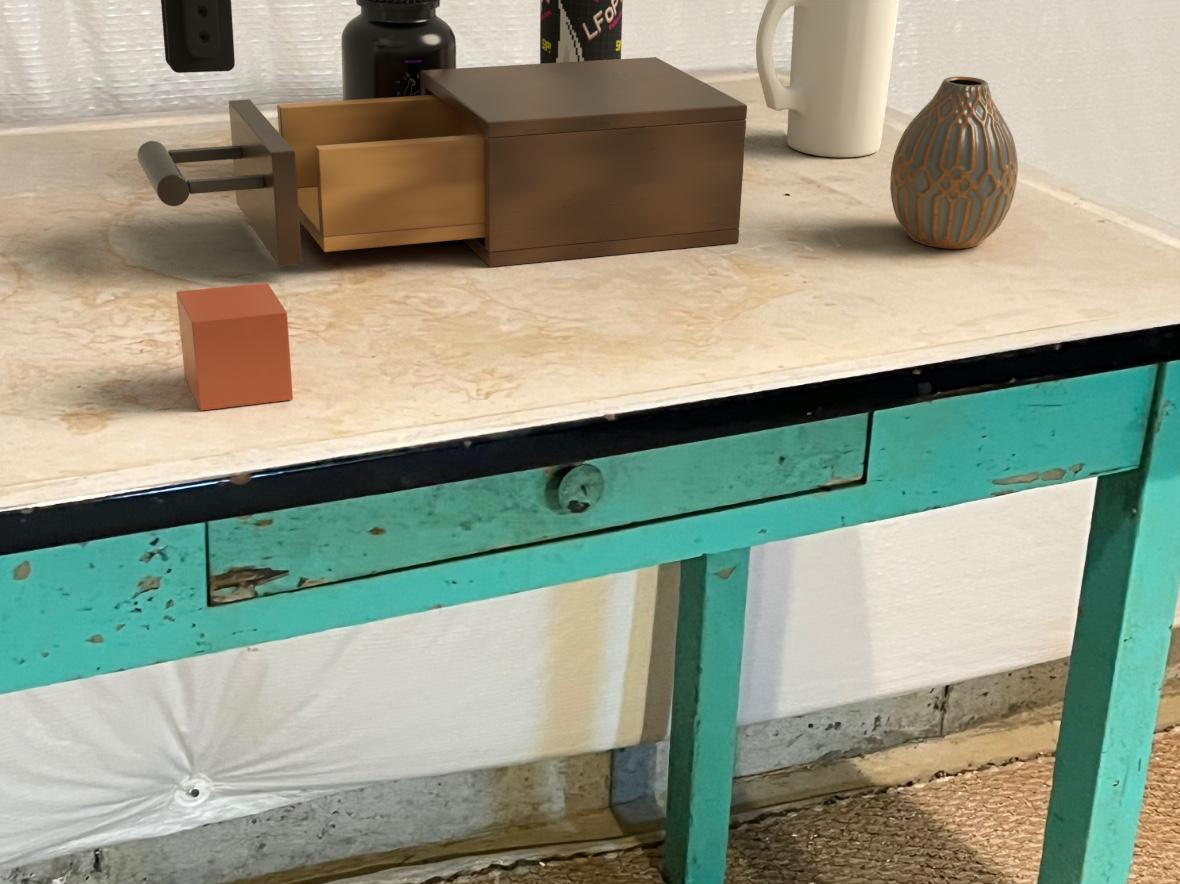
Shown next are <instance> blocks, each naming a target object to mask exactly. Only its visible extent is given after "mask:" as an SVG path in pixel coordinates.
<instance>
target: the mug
mask: <svg viewBox="0 0 1180 884" xmlns="http://www.w3.org/2000/svg"><path fill="white" fill-rule="evenodd" d="M899 5H900V0H767V1H766V5H765V7H764V9H763V12H762V14H761V18H760V21H759V24H758V29H757V33H756V41H755V59H756V67H757V72H758V77H759V81H760V85H761V88H762V93H763V98H764V101H765V105H766V107H767V108H769V109H772V110H774V111H776V112H779V111H785V110H787V135H786V141H787V145H788V146H789V147H790V148H791V149H793V150H795V151H797V152H800V153H803V154H807V155H811V156H818V157H825V158H857V157H858V158H859V157H866V156H869V155H872V154H875V153H876V152H878V151H879V150H880V149H881V145H882V144H881V143H882V137H883V132H884V131H883V130H884V123H885V116H886V109H887V101H888V100H887V99H888V93H889V84H890V77H891V68H892V61H893V53H894V46H895V39H896V38H895V37H896V29H897V22H898V21H897V20H898V14H899ZM791 7H793V21H792V40H791V57H790V77H789V85H785V86H784V84H782V82H781V81H780V79H779V77H778V75H777V71H776V67H775V62H774V53H773V47H774V46H773V44H774V36H775V33H776V29H777V26H778V23H779V22H780V20H781V18H782V16H783V15H784V14H785V12H786V11H788V9H790V8H791Z"/></svg>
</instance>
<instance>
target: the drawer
mask: <svg viewBox="0 0 1180 884" xmlns="http://www.w3.org/2000/svg"><path fill="white" fill-rule="evenodd" d="M276 110H277V111H276V112H277V124H278V130H277V129H276V128H275V127H274V125H273V124H272V123H271V122H270V121H269V120H268V118H266V116H265V114H263V113H262V111H261V110H259V108H258V107H257V106H256V104H254V102H253V101H252V100H251V99H235V100H234V99H231V100H228V111H229V122H230V137H231V145H221V146H209V147H194V148H180V149H169V150H168V149H167V147H166V146H165V145H163V144H162V143H161V142H159V141H157V140H148V141H146V142H144V143H142V145H140V146H139V148H138V150H137V161H138V163H139V165H140V167H141V169H142V171H143V172H144V174H145V176H146V178H147V179H148V181H149V183H150V184H151V186H152V188H153V190H154V192H155V194H156V195H157V197H158V199H159V200H160V201H161V203H163V204H164V205H166V206H169V207H178V206H182V205H183V204H184V203H185V202H186V201H187V200H188V198H189V196H190V195H195V194H209V193H221V192H234V191H235V197H236V205H237V206H238V209H240V211H241V213H242V214H243V215H244V217H245V219H246V220H247V222H249V224H250V225H251V227H252V228H253V230H254V231H255V232H256V234H257V236H258V237H259V239H260V240H261V241H262V243H263V245H264V246H265V247H266V248H267V250H268V252H269V253H270V254H271V256H272V257H273V259H274V260H275V262H276V264H277V265H278V266H279V267H287V266H294V265H302V264H303V255H302V238H301V237H302V236H301V224H302V225H303V226H304V228H305V229H306V230H307V231H308V233H309V234H310V236H311V237H312V238H313V239H314V240H315V242H316V243H317V245H318V246H319V247H320V248H321V250H322V251H323V252H324V253H329V252H339V251H350V250H361V249H371V248H373V249H374V248H383V247H384V248H385V247H393V246H394V247H395V246H403V245H404V246H405V245H416V244H427V243H437V242H438V243H439V242H447V241H450V242H451V241H460V240H461V241H462V239H472V238H483V237H485V175H484V135H485V134H484V133H482V132H481V131H480V130H479V129H477V128H476V127H475V126H473V125H472V124H471V123H470V122H468V121H467V120H466V119H465V118H463V117H462V116H461V115H459V114H458V113H457V112H456V111H454V110H453V109H452V108H450V107H449V106H448V105H447V104H445V103H444V102H443V101H442V100H440V99H439V98H438V97H436V96H435V95H423V96H407V97H390V98H374V99H358V100H343V99H342V100H328V101H311V102H297V103H296V102H295V103H279V104H277V105H276ZM226 160H227V161H229V160H232V161H233V172H234V176H233V175H232V176H221V177H207V178H195V179H194V178H193V179H186V178H185V176H184V174H183V173H182V172H181V170H180V168H179V167H178V165H177V164H186V163H187V164H188V163H197V162H198V163H199V162H213V161H214V162H215V161H226ZM300 223H301V224H300Z"/></svg>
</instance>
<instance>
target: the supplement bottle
mask: <svg viewBox="0 0 1180 884" xmlns="http://www.w3.org/2000/svg"><path fill="white" fill-rule="evenodd" d="M355 4H356V5H357V6H358V7H360V13H359V14H357V15H356V16H355V17H353V18H352V19H351V20H349V21H348V22H347V23H346V25H345V27H344V28H343V31H342V33H341V76H342V77H341V79H342V81H341V82H342V100H358V99H374V98H390V97H407V96H421V83H420V71H421V70H437V69H455V68H457V39H456V35H455V32H454V30H453V29H452V27H451V26H450V25H449V24H448V23H447V22H446V21H445V20H444V19H442V18H440V17H439V16H438V15H437V8H439V7H440V6H441V0H355Z"/></svg>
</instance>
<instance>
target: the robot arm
mask: <svg viewBox="0 0 1180 884" xmlns="http://www.w3.org/2000/svg"><path fill="white" fill-rule="evenodd" d="M160 8H161V21H162V22H161V23H162V32H163V34H162V35H163V45H164V46H163V47H164V58H165V59H164V60H165V62H166V64H167V65H168V66H169V68H170V69H171V71H173V72H174V73H178V74H184V73H185V74H186V73H213V72H215V73H217V72H229V71H232V70H233V69H234V68H235V66H236V60H235V59H236V58H235V43H234V27H233V10H232V9H233V8H232V0H160Z"/></svg>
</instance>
